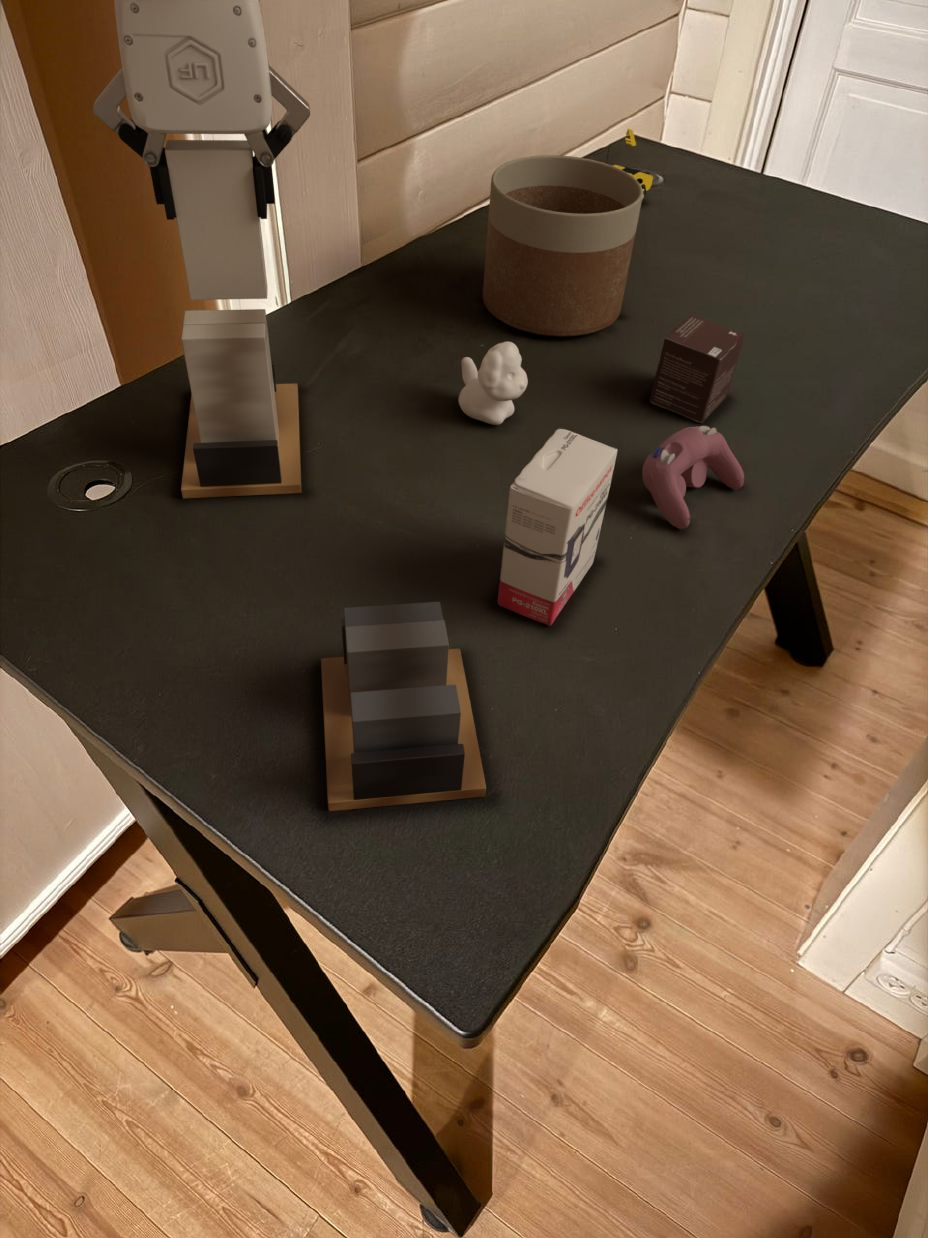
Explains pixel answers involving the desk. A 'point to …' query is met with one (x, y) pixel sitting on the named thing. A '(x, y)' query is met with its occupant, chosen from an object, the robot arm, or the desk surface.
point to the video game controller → (688, 469)
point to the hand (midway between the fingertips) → (218, 210)
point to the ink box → (554, 524)
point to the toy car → (642, 178)
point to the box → (696, 368)
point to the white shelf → (237, 409)
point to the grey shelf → (398, 712)
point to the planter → (559, 243)
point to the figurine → (493, 384)
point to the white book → (217, 218)
